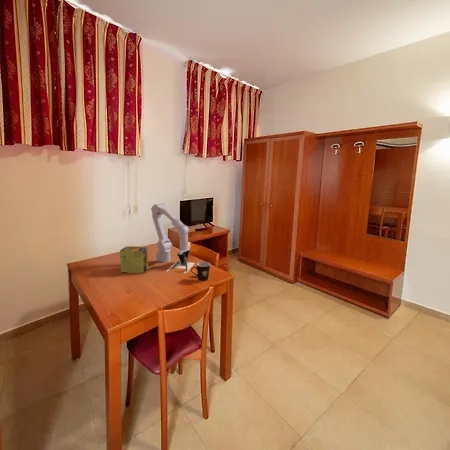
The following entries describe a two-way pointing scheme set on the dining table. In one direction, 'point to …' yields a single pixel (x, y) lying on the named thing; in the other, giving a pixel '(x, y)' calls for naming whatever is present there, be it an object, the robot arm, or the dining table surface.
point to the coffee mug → (202, 270)
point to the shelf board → (183, 266)
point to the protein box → (133, 259)
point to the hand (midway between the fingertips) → (184, 261)
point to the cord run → (176, 263)
